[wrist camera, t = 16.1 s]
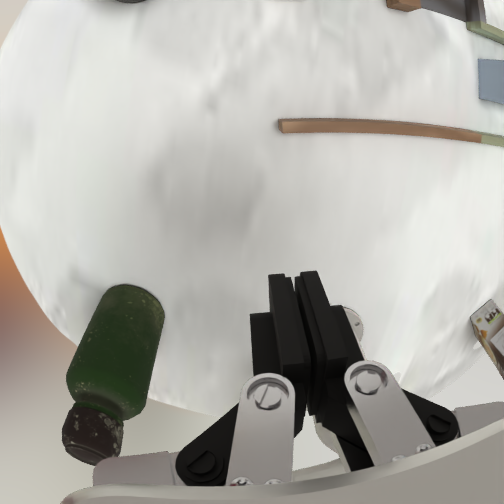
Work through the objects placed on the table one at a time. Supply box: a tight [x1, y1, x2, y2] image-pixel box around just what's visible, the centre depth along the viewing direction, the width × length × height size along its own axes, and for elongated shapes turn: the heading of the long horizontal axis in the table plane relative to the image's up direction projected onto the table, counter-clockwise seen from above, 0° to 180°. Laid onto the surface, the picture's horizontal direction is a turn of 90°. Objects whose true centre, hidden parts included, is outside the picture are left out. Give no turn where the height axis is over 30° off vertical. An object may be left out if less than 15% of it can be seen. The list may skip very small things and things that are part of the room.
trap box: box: [279, 0, 504, 147], centre depth 26 cm, size 24×39×3 cm, turn 94°
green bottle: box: [62, 285, 165, 466], centre depth 35 cm, size 10×10×25 cm
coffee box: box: [471, 299, 504, 379], centre depth 45 cm, size 9×6×16 cm
